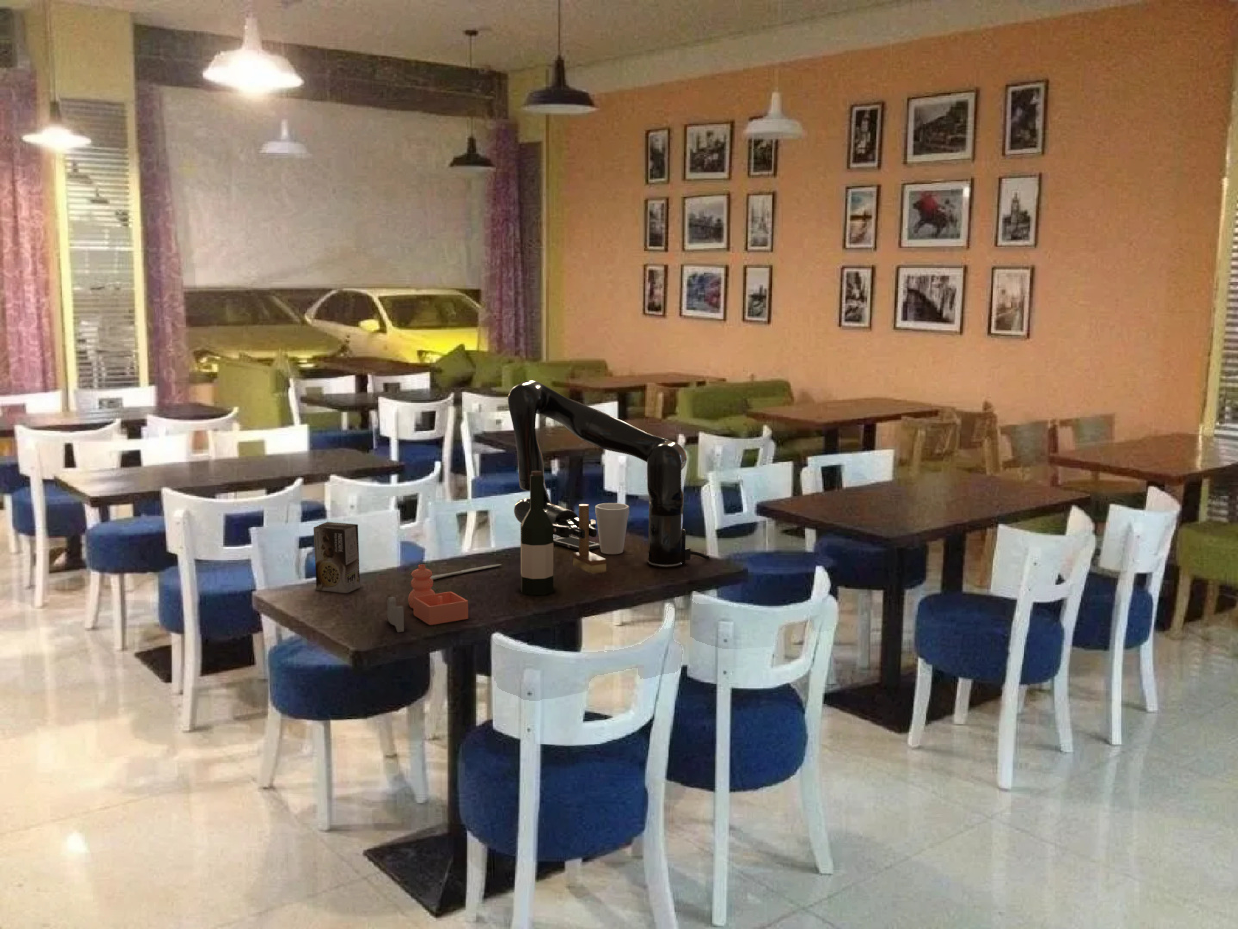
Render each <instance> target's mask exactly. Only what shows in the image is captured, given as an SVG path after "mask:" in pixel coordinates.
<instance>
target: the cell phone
mask: <svg viewBox="0 0 1238 929" xmlns="http://www.w3.org/2000/svg"><path fill="white" fill-rule="evenodd" d="M553 544H554V545H559V546H561V547H566V548H570V549H573V550H576V551H579V537H577V536H575V537H573V536H571V537H568V538H562V537H560V536H558V537H553ZM594 549H600V542H595V541H591V540H589V551H590V550H594Z"/></svg>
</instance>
